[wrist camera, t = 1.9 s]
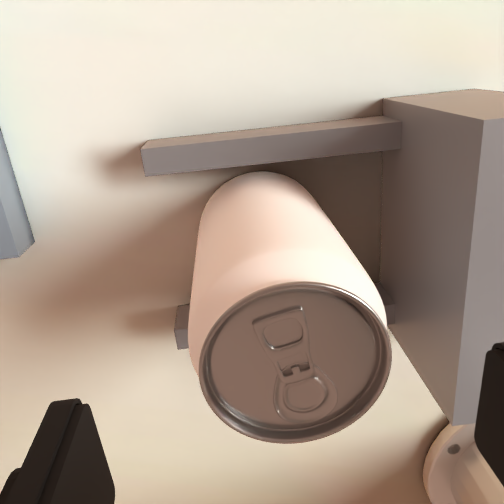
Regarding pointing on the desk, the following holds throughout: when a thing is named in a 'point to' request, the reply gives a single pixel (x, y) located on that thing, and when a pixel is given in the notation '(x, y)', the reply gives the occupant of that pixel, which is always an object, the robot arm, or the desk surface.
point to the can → (283, 315)
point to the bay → (406, 221)
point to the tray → (11, 211)
